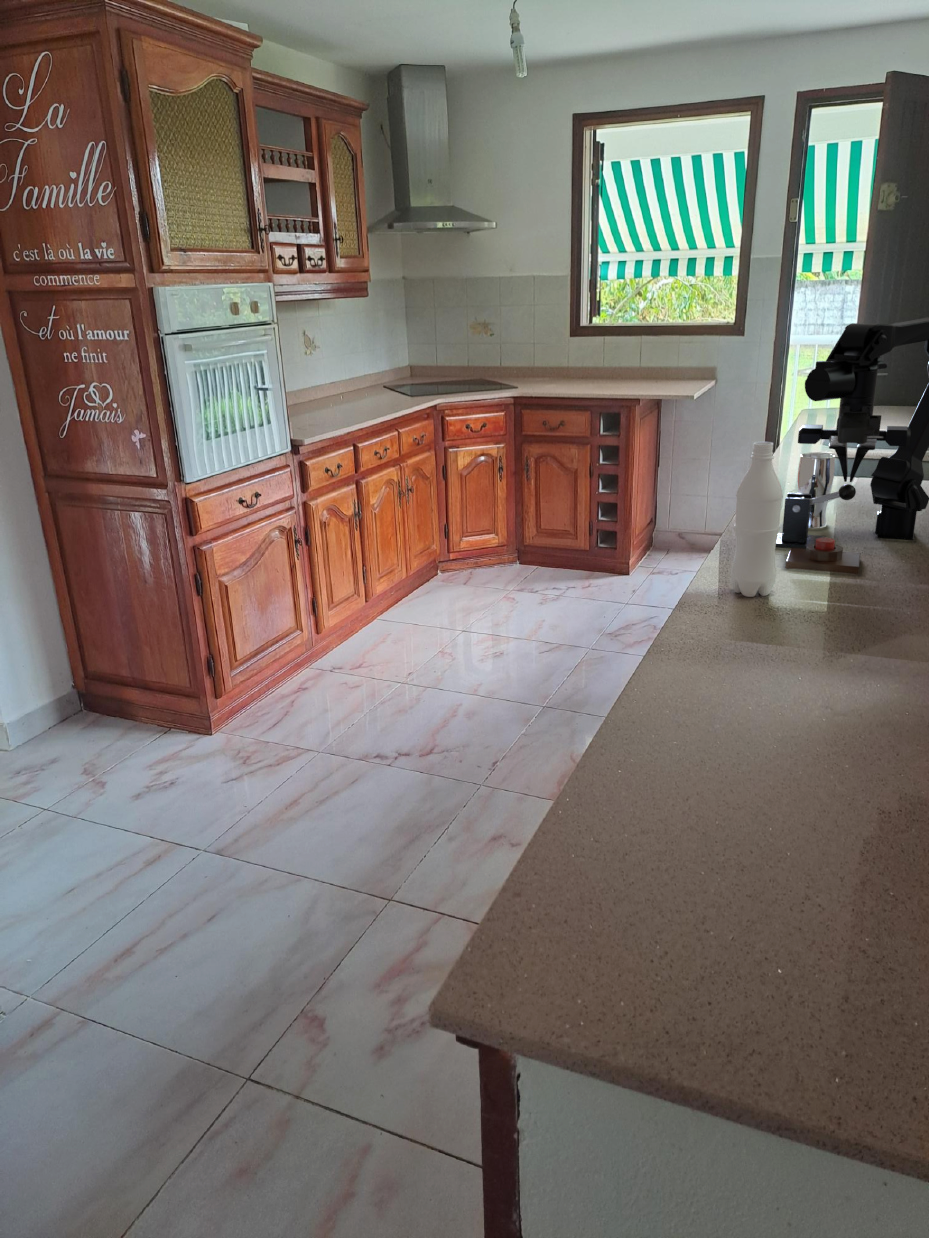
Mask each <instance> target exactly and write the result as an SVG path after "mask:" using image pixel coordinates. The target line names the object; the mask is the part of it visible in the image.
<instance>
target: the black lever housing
mask: <svg viewBox="0 0 929 1238" xmlns="http://www.w3.org/2000/svg"><path fill="white" fill-rule="evenodd" d="M803 496H804V498H799V497H803ZM811 497H812V494H804V493H798V492H788V493H787V494H786V497H785V498H784V508H783V518H782V519H783V521H782V531H781V532H778V536H777V540H776V546H775V548H780V549H782V548H783V549H791V548H800V549H806V547H807V545H809V544H812V543H816V539H817V538H827V535H819V534H818V535H816V534H809V529H810V528H809V517H810V507H811V505H810V499H811Z"/></svg>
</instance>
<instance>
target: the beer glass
mask: <svg viewBox="0 0 929 1238" xmlns="http://www.w3.org/2000/svg"><path fill="white" fill-rule="evenodd" d="M798 465H799V466H798V468H797V469H798V470H797V481H796V482H797V493H804V494H812V497H811V498H815V497H819V496H823V495H826V494H830V493H832V489H833V484H834V480H835V471H836V469H835V468H836V455H835V454H833V453H829V452H818V451H817V452H815V451H814V452H804V453H801V454H800V458H799V464H798ZM828 503H829V500H828V501H824V502H820V503H816V504H813V505H811V507H810V517H809V528H808V529H815V530H816V529H823V528H826V527H827V516H826V515H827V514H826V513H827V507H828Z"/></svg>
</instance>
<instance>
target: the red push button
mask: <svg viewBox="0 0 929 1238" xmlns="http://www.w3.org/2000/svg"><path fill="white" fill-rule="evenodd" d="M835 544H836V539H834V538H831V537H826V538H817V539H816V544H815V549H819V550H834V546H835Z"/></svg>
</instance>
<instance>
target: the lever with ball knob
mask: <svg viewBox="0 0 929 1238" xmlns="http://www.w3.org/2000/svg"><path fill="white" fill-rule="evenodd" d="M856 490H857V489H856V488H855V486H854V485H852V484H850V483H845V484H843V485H842V486H840V487H839V488H838V491H834V492H831V493H830V494H826V495H823V496H819V497H815V498H811V499H810V505H813V504H816V503H820V502H824V501H828V502H829V501H832V500H835V499H839V498H840V499H841V500H843V501H850V500H852V499H854V498H855V496H856V494H857V491H856ZM799 498H804V496H803V497H799Z"/></svg>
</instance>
